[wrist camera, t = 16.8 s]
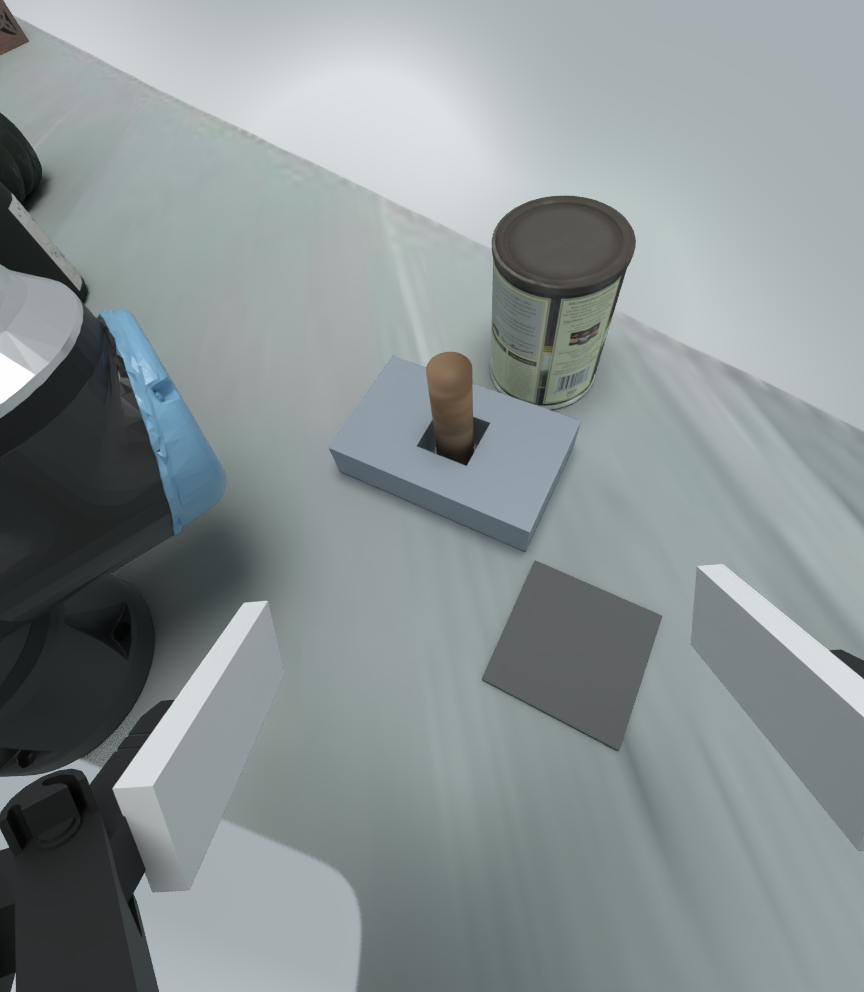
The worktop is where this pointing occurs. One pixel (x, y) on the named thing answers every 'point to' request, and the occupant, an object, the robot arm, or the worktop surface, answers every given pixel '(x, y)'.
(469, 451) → the dowel
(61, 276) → the wine bottle
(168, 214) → the worktop surface
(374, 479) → the socket board
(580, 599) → the mat
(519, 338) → the coffee can
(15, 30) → the tissue box cover
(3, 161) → the squash
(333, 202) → the worktop surface
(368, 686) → the worktop surface
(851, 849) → the worktop surface
